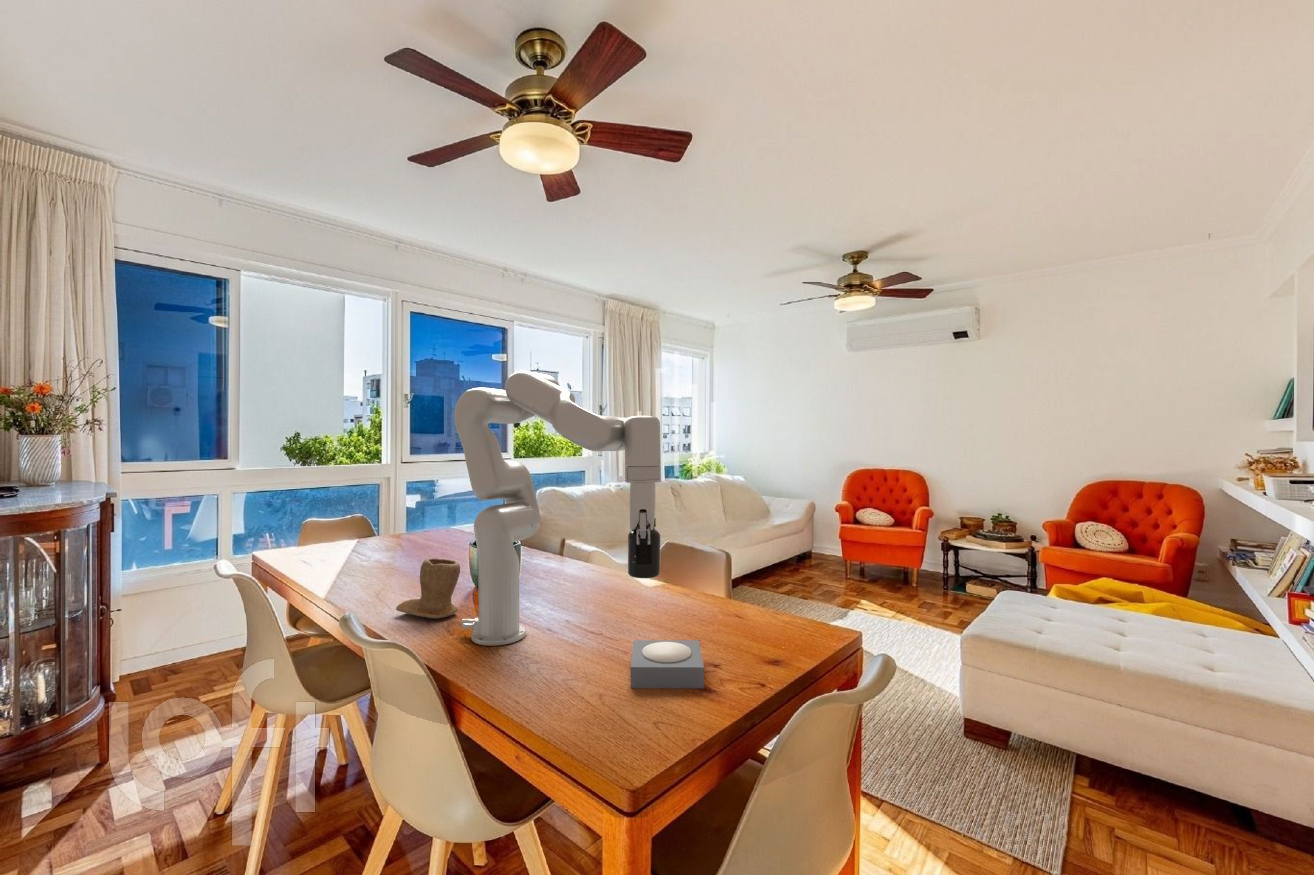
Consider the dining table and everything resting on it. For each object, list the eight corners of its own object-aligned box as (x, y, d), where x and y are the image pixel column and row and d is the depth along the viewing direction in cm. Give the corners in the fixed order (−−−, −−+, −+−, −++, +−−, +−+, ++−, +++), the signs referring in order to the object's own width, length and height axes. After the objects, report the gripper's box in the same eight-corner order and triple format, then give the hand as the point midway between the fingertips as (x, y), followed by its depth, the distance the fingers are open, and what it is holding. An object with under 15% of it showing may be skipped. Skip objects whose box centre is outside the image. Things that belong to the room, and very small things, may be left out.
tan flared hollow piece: (469, 612, 150) (469, 557, 150) (434, 625, 139) (434, 566, 139) (430, 604, 157) (430, 552, 157) (394, 616, 146) (394, 560, 146)
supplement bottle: (636, 580, 109) (635, 520, 110) (622, 573, 115) (621, 517, 116) (666, 576, 113) (665, 518, 113) (651, 569, 119) (650, 514, 119)
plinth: (630, 688, 104) (630, 665, 104) (633, 658, 118) (633, 638, 118) (703, 688, 104) (703, 665, 104) (698, 658, 118) (698, 638, 118)
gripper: (627, 472, 123) (628, 552, 123) (622, 477, 106) (623, 570, 105) (660, 472, 123) (661, 551, 123) (661, 477, 106) (662, 569, 105)
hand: (644, 559), depth 114 cm, fingers closed on supplement bottle, 6 cm apart
